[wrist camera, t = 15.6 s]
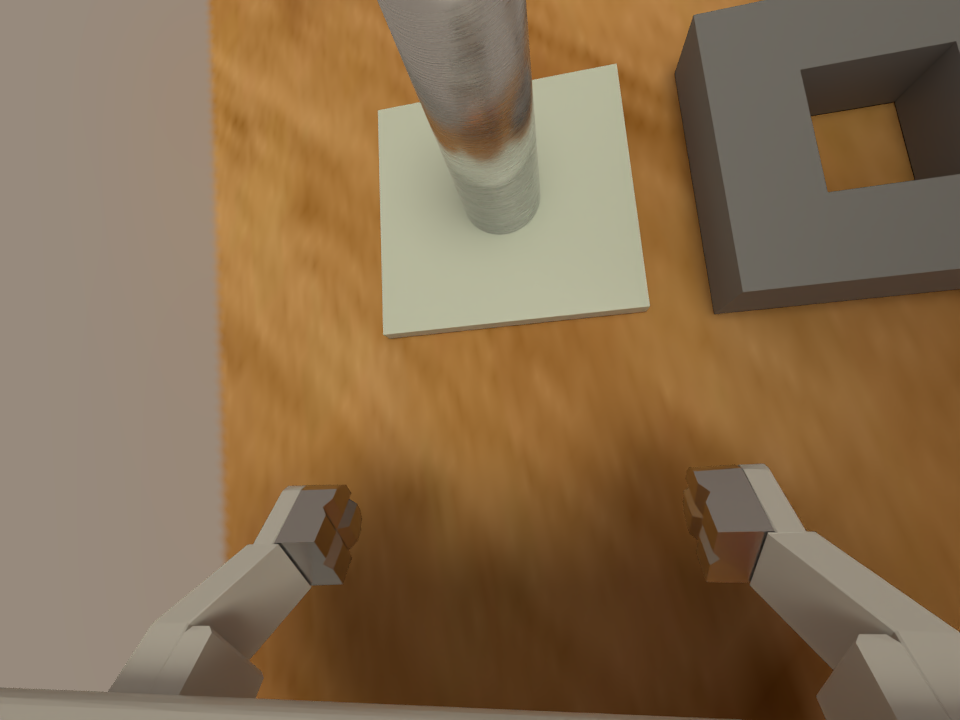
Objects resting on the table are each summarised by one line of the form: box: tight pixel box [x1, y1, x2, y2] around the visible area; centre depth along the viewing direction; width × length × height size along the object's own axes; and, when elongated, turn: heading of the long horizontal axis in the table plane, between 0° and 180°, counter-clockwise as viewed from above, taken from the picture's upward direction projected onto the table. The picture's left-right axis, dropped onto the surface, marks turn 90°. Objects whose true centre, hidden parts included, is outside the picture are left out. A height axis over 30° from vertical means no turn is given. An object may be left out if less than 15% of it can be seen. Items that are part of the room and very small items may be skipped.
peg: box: [378, 0, 541, 235], centre depth 15 cm, size 4×4×11 cm
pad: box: [378, 64, 650, 338], centre depth 21 cm, size 12×12×1 cm
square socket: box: [675, 0, 960, 314], centre depth 17 cm, size 12×12×3 cm
